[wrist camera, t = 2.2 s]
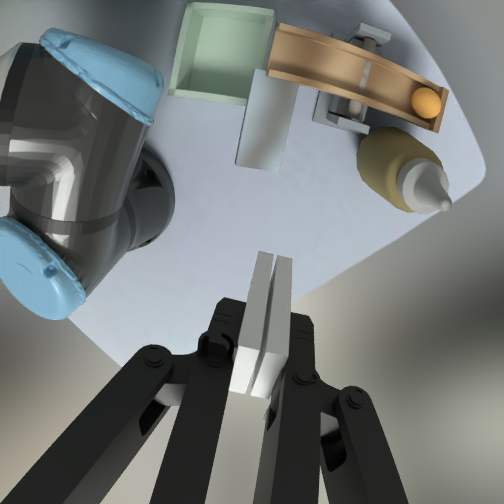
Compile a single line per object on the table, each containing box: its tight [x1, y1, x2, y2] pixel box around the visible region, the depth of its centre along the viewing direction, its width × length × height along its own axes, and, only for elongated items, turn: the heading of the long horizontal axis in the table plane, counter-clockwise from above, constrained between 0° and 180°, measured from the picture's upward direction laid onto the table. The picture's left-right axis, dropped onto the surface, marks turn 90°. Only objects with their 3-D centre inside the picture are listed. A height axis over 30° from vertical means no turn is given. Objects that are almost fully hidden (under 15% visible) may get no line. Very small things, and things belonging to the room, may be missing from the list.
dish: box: [168, 2, 277, 106], centre depth 29 cm, size 10×12×5 cm
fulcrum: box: [313, 23, 392, 135], centre depth 26 cm, size 6×12×10 cm, turn 169°
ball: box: [411, 87, 441, 118], centre depth 23 cm, size 3×3×3 cm
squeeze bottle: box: [357, 127, 452, 214], centre depth 26 cm, size 8×8×18 cm
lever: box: [235, 23, 449, 172], centre depth 26 cm, size 19×15×6 cm
